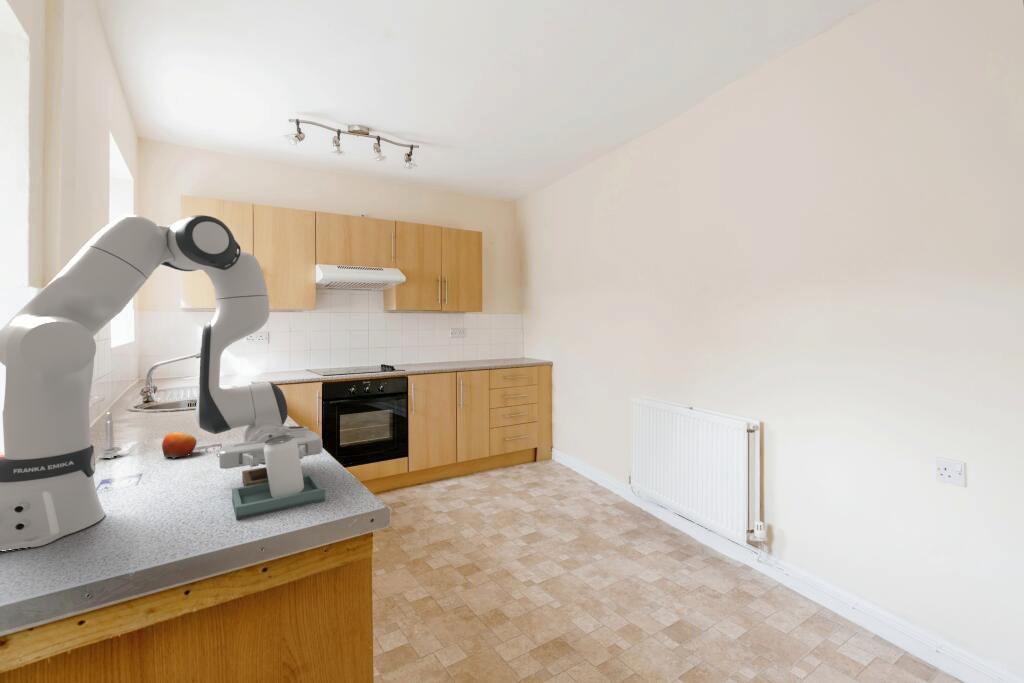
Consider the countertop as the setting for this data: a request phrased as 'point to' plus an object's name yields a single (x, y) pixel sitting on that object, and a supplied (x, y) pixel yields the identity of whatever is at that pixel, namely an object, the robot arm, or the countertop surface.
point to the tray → (261, 502)
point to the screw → (109, 438)
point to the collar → (254, 476)
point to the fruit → (178, 444)
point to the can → (283, 466)
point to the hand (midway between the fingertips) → (277, 458)
